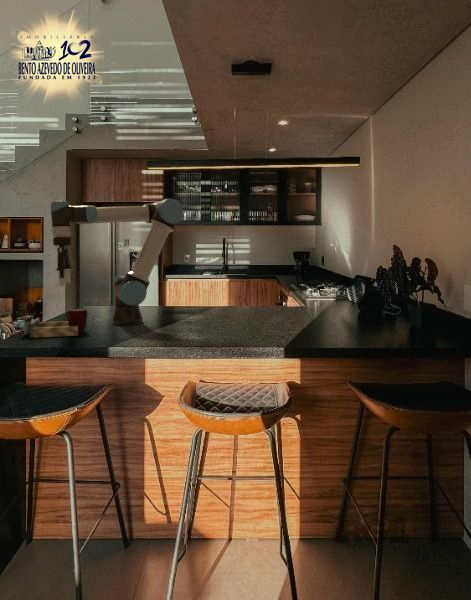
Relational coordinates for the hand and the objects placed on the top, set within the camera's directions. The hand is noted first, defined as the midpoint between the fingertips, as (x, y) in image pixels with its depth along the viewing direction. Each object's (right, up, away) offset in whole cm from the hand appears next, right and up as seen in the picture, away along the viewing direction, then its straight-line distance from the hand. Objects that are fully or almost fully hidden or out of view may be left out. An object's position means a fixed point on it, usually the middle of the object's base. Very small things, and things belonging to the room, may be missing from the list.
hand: (65, 284), depth 221 cm
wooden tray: (-2, -22, -2) cm, 22 cm away
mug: (+5, -22, 0) cm, 22 cm away
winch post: (-15, -22, -4) cm, 27 cm away
